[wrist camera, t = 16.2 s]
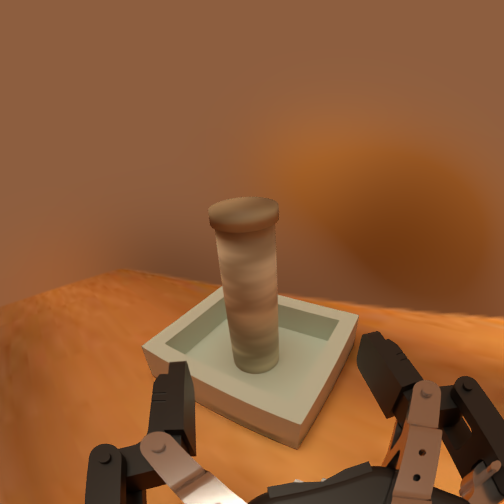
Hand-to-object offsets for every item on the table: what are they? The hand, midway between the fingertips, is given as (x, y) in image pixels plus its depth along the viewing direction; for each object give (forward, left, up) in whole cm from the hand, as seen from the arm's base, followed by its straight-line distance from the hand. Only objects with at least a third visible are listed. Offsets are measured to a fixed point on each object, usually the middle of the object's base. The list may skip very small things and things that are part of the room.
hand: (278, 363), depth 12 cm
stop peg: (-7, +9, -11) cm, 16 cm away
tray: (-7, +9, -12) cm, 17 cm away
